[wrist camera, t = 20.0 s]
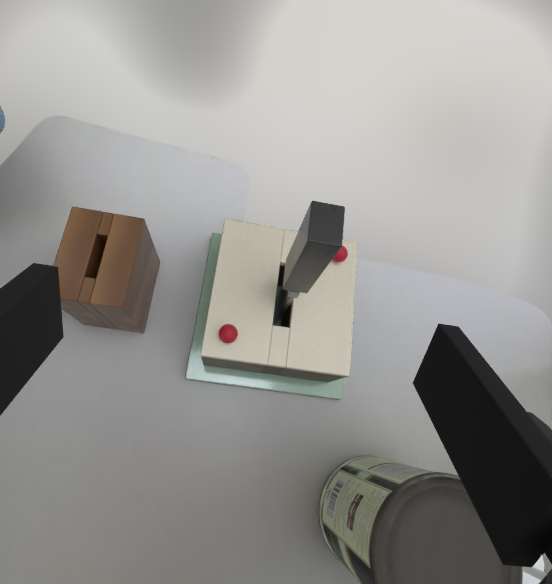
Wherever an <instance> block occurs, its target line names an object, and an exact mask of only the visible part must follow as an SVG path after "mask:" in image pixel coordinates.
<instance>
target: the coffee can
mask: <svg viewBox="0 0 552 584" xmlns="http://www.w3.org/2000/svg"><path fill="white" fill-rule="evenodd" d="M319 519H320V524H321V529H322V533H323V536H324V538H325V540H326V543H327V545H328V546H329V548H330V549H331V551H332V552H333V554H334V555H335V556H336V557H337V558H338V559H339V560H340V561H341V562H342V563H343V564H344V565H345V566H346V567H347V568H348V569H349V570H350V571H351V573H352V574H353V575H354V576H355V577H356V578H357V579H358V580H359V581H360V583H361V584H522V580H523V569H522V567H520V566H509V565H503V564H502V562H501V560H500V558H499V556H498V554H497V552H496V550H495V548H494V546H493V544H492V542H491V540H490V538H489V536H488V534H487V532H486V530H485V528H484V526H483V524H482V522H481V520H480V518H479V516H478V514H477V512H476V510H475V508H474V506H473V504H472V502H471V499H470V497H469V495H468V493H467V491H466V489H465V487H464V485H463V483H462V481H461V479H460V477H459V476H457V475H453V474H447V473H440V472H432V471H428V470H423V469H419V468H415V467H411V466H407V465H403V464H399V463H395V462H391V461H387V460H384V459H382V458H378V457H373V456H360V457H357V458H353V459H350V460H348V461H346V462H344V463H343V464H342V465H340V466H339V467H338V468H337V469H336V470H335V471H334V472H333V473H332V474H331V475H330V477H329V479H328V480H327V482H326V484H325V487H324V489H323V492H322V495H321V500H320V508H319Z"/></svg>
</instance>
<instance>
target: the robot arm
mask: <svg viewBox="0 0 552 584" xmlns="http://www.w3.org/2000/svg"><path fill="white" fill-rule="evenodd" d="M4 125H5V117H4V114H3V111H2V109H1V106H0V133H1V132H2V131H3V128H4ZM62 338H63V325H62V311H61V297H60V284H59V270H58V267H56V266H49V265H42V264H36V263H33V264H32V265H31V266H29V267H28V268H27V269H25V270H24V271H23V272H21V273H20V274H19V275H18V276H16V277H15V278H14V279H12V280H11V281H10V282H8V283H7V284H6V285H4V286H3V287H2V288H1V289H0V415H1V414H2V413H3V411H4V410H5V409H6V408H7V406H8V405H9V404H10V403H11V401H12V400H13V399H14V398H15V396H16V395H17V394H18V393H19V392H20V390H21V389H22V388H23V387H24V385H25V384H26V383H27V382H28V380H29V379H30V378H31V377H32V375H33V374H34V373H35V372H36V370H37V369H38V368H39V367H40V365H41V364H42V363H43V362H44V360H45V359H46V358H47V357H48V355H49V354H50V353H51V352H52V350H53V349H54V348H55V347H56V345H57V344H58V343H59V342H60V340H61V339H62ZM413 384H414V386H415V388H416V390H417V392H418V394H419V396H420V398H421V401H422V403H423V405H424V407H425V409H426V411H427V413H428V415H429V417H430V419H431V421H432V423H433V425H434V427H435V429H436V431H437V433H438V435H439V437H440V439H441V441H442V443H443V445H444V447H445V449H446V451H447V453H448V455H449V457H450V459H451V461H452V463H453V465H454V467H455V469H456V471H457V473H458V475H459V477H460V479H461V481H462V483H463V485H464V487H465V489H466V491H467V493H468V495H469V497H470V499H471V502H472V504H473V506H474V508H475V510H476V512H477V514H478V516H479V518H480V520H481V522H482V524H483V526H484V528H485V530H486V532H487V534H488V536H489V538H490V540H491V542H492V544H493V546H494V548H495V550H496V552H497V554H498V556H499V558H500V560H501V562H502V564H503V565H509V566H520V567H533V566H534V564H535V563H536V562H537V561H538V560H539V558H540V557H541V556H542V555H543V554H544V552H545V554H546V556H547V557H548V559H549V561H550V562H551V564H552V430H551V429H550V427H549V426H547V425H546V424H545V423H544V422H542V421H541V420H540V419H539V418H537V417H536V416H535V415H534V414H533V413H530V412H526V411H525V409H524V408H523V407H522V406H521V404H520V403H519V402H518V401H517V399H516V398H515V397H514V395H513V394H512V393H511V392H510V390H509V389H508V388H507V387H506V385H505V384H504V383H503V382H502V380H501V379H500V378H499V377H498V375H497V374H496V373H495V372H494V370H493V369H492V368H491V367H490V365H489V364H488V363H487V362H486V360H485V359H484V358H483V357H482V355H481V354H480V353H479V352H478V350H477V349H476V348H475V347H474V345H473V344H472V343H471V342H470V340H469V339H468V338H467V337H466V335H465V334H464V333H463V332H462V330H461V329H460V328H459V327H457V326H451V325H444V324H438V326H437V328H436V331H435V333H434V335H433V338H432V340H431V342H430V345H429V347H428V349H427V351H426V354H425V356H424V358H423V361H422V363H421V365H420V368H419V370H418V372H417V374H416V377H415V379H414V381H413ZM539 584H552V569H551V570H550V571H549V572H548V574H547V575H546V576H545V577H544V578H543V579H542V580H541V581H540V583H539Z"/></svg>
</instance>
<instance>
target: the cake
mask: <svg viewBox="0 0 552 584" xmlns="http://www.w3.org/2000/svg"><path fill="white" fill-rule="evenodd" d="M297 233H298V231H293V230H287V229H282V228H276V227H271V226H265V225H259V224H253V223H248V222H242V221H236V220H231V219H225V221H224V227H223V232H222V238H221V244H220V249H219V255H218V260H217V266H216V272H215V277H214V283H213V288H212V294H211V300H210V305H209V311H208V316H207V322H206V328H205V333H204V339H203V344H202V350H201V358H202V362H203V365H205V366H213V367H220V368H227V369H235V370H242V371H249V372H256V373H259V372H260V373H264V374H271V375H279V376H286V377H293V378H300V379H308V380H315V381H322V382H331V381H335V380H338V379H341V378H344V377H348V376H350V365H351V348H352V331H353V314H354V297H355V280H356V263H357V245H358V242H357V241H351V240H345V239H343V240H342V247H341V248H340V250H339V251H338V252H337V254H336V255H335V256H334V258H333V259H332V261H331V262H330V263H329V265H328V266H327V267H326V269H325V270H324V271H323V273H322V274H321V275H320V277H319V278H318V280H317V281H316V282H315V284H314V285H313V286H312V288H311V289H310V290H309V292H308V293H302V292H300V295H299V296H298V298H294V299H293V300H292V302H291V304H290V305H289V307H288V308H287V310H286V311H285V313H284V314H283V316H282V320H281V326H275V325H273V326H272V324H273V316H274V308H275V300H276V292H277V286H280V287H283V280H284V272H285V264H286V258H287V256H288V254H289V251H290V249H291V247H292V245H293V242H294V240H295V238H296V236H297Z"/></svg>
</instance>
